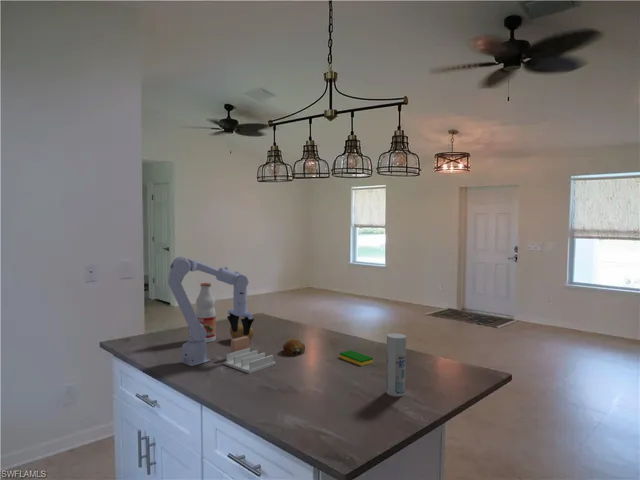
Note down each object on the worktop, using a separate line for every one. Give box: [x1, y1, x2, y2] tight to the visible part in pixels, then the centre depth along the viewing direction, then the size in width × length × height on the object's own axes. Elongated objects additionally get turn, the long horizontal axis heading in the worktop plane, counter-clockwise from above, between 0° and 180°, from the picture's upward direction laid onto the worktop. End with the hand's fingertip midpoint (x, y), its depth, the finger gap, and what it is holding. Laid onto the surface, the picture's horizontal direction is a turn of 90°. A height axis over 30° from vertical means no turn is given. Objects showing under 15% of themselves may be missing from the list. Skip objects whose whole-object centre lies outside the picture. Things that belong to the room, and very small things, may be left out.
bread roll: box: [282, 338, 306, 356], centre depth 196 cm, size 10×10×8 cm
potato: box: [229, 323, 255, 341], centre depth 213 cm, size 10×14×8 cm
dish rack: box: [223, 347, 277, 374], centre depth 179 cm, size 14×16×4 cm
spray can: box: [385, 332, 407, 398], centre depth 151 cm, size 6×6×20 cm
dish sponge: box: [339, 349, 374, 367], centre depth 186 cm, size 7×14×2 cm, turn 39°
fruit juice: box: [195, 282, 217, 344], centre depth 213 cm, size 9×9×28 cm
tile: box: [230, 336, 250, 353], centre depth 189 cm, size 8×2×8 cm, turn 140°
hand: (240, 333), depth 189 cm, fingers open, 7 cm apart
